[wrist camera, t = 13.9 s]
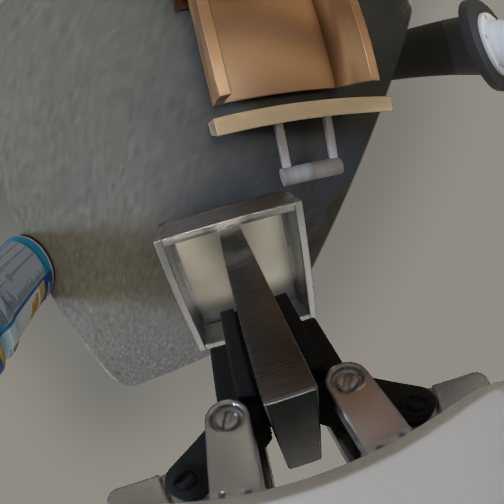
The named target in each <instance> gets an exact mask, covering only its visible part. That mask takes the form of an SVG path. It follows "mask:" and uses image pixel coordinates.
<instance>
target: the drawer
mask: <svg viewBox="0 0 504 504" xmlns="http://www.w3.org/2000/svg"><path fill="white" fill-rule="evenodd" d="M187 1H188V5H189V9H190V13H191V18H192V22H193V26H194V30H195V34H196V39H197V43H198V47H199V51H200V55H201V59H202V64H203V68H204V72H205V76H206V80H207V84H208V89H209V93H210V97H211V101H212V105H213V107H215V106H219V105H223V104H228V103H233V102H237V101H242V100H248V99H253V98H259V97H265V96H271V95H277V94H285V93H292V92H301V91H310V90H321V89H335V88H342V87H347V86H352V85H357V84H362V83H367V82H373V81H379V80H380V78H379V74H378V69H377V65H376V61H375V56H374V52H373V48H372V45H371V41H370V37H369V34H368V30H367V27H366V24H365V21H364V17H363V14H362V11H361V8H360V5H359V3H358V0H187ZM384 111H393V105H392V99H391V96H375V97H351V98H336V99H325V100H315V101H306V102H298V103H291V104H284V105H278V106H271V107H266V108H260V109H255V110H249V111H244V112H240V113H235V114H230V115H226V116H222V117H217V118H214V119H213V120H211V121H210V122H209V123H208V125H209V129H210V133H211V136H222V135H226V134H231V133H235V132H239V131H244V130H248V129H253V128H258V127H263V126H268V125H274V130H275V135H276V140H277V145H278V149H279V154H280V159H281V165H282V168H281V169H280V179H281V182H282V184H283V185H284V186H289V185H293V184H297V183H302V182H306V181H310V180H315V179H319V178H324V177H329V176H333V175H338V174H342V173H343V171H344V166H343V162H342V160H341V159H340V158H339V157H338V155H337V148H336V141H335V135H334V129H333V123H332V118H331V116H334V115H344V114H354V113H367V112H384ZM318 117H322V121H323V126H324V132H325V138H326V144H327V150H328V156H329V158H330V159H325V160H319V161H314V162H309V163H304V164H300V165H295V166H291V162H290V156H289V151H288V146H287V141H286V136H285V131H284V126H283V123H285V122H291V121H297V120H304V119H310V118H318Z"/></svg>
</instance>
